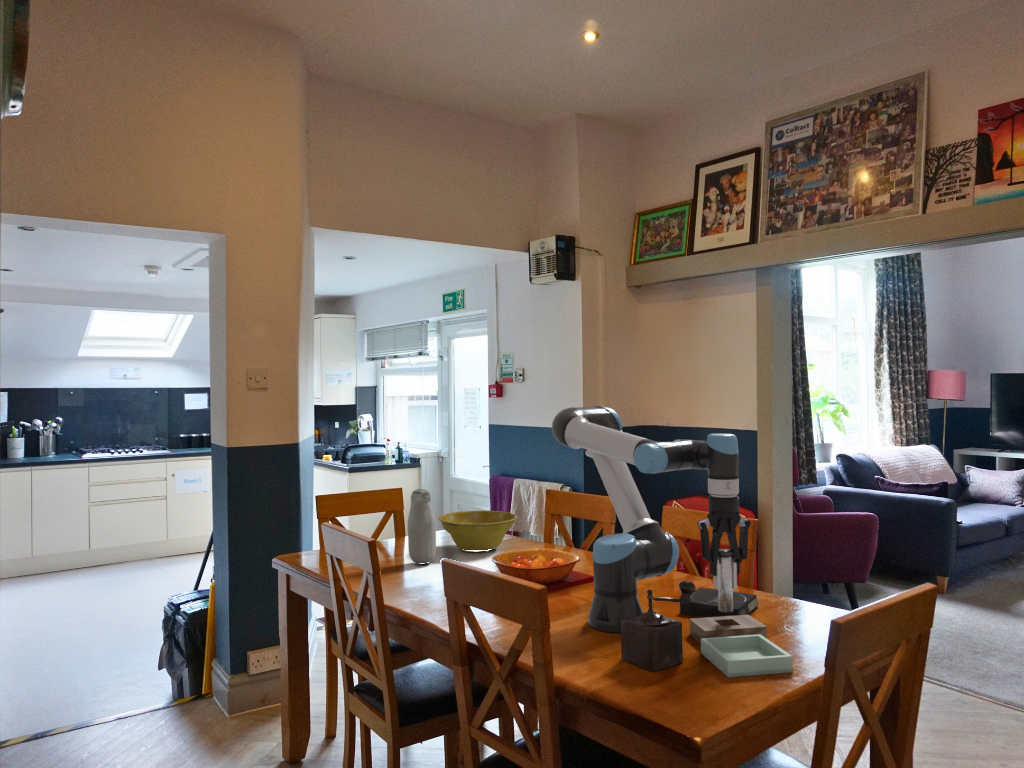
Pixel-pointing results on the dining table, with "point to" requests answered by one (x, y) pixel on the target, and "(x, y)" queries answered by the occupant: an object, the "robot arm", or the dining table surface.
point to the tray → (746, 655)
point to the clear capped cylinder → (726, 581)
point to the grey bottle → (421, 528)
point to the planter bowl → (477, 528)
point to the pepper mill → (654, 635)
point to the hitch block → (726, 627)
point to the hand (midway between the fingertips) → (725, 587)
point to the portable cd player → (707, 604)
